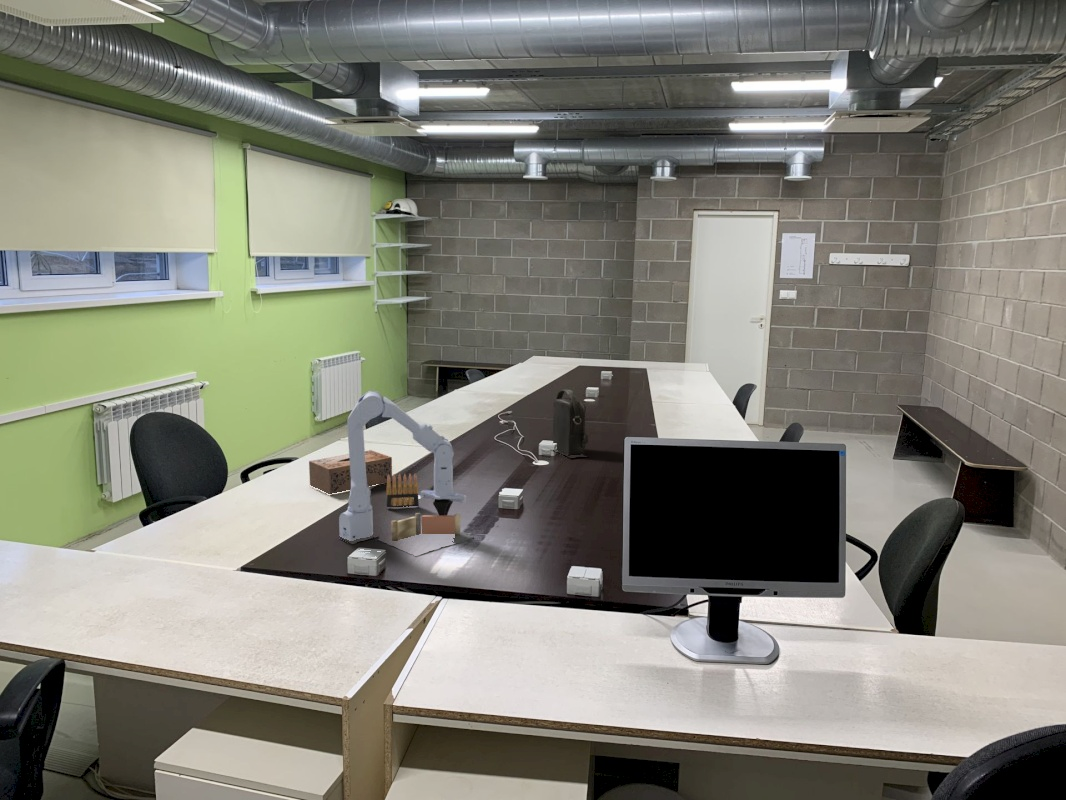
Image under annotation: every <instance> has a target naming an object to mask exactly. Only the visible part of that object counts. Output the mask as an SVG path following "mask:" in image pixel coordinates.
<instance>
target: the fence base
mask: <svg viewBox="0 0 1066 800" xmlns="http://www.w3.org/2000/svg"><path fill="white" fill-rule="evenodd" d="M390 524H391V535H392V541H398V540H400V539H404V538H408V537H411V536H415V535H419V534H421V526H422V517H421V513H420V512H415V513H414V516H411V517H406V518H402V519H400V520H395V519H393V520H391V521H390Z"/></svg>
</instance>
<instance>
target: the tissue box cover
mask: <svg viewBox="0 0 1066 800" xmlns="http://www.w3.org/2000/svg"><path fill="white" fill-rule="evenodd" d="M308 464H309V465H308V467H309V468H308V470H309V486H310V485H311V486H313V487H315V488H318V489H320V490H322V491H324V492H326V493H328V494H332V493H337V492H342V491H346V490H350V489H351V474H350V458H349V453H347V454H341V455H336V456H330V457H324V458H320V459H313V460H309V461H308ZM365 464H366V477H367V485H368V486H372V485H376V484H381V483H386V482H387V477H388V474H389V475H390V479H391V481H392V480H393V459H392V457H391V456H389V455H387V454H383V453H380V452H377V451H374V450H371V449H369V450H365Z"/></svg>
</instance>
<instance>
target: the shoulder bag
mask: <svg viewBox="0 0 1066 800" xmlns="http://www.w3.org/2000/svg"><path fill="white" fill-rule="evenodd" d="M565 393H566V394H567V396H568V397H569V398H567V397H565V398H563V397H564V395H565ZM586 408H587V407H586V405H585V403H582V402H580V401H579V400H578V398H577V396H576V394H575V393H574V391H573V390H571V389H566V388H564V389H561V390H559V392H558V393H557V394H556V399H555V400H554V401H553V408H552V410H553V411H552V413H553V414H552V415H553V417H552V418H553V419H552V444H553V443H557V450H558V451H559V452H561V453H563V454H565V455H568V456H570V455H581V454H584V453H585V448H586V444H588V442H589V437H588V436H589V435H588V431H587V428H586V411H587V409H586ZM584 455H585V454H584Z"/></svg>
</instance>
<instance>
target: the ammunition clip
mask: <svg viewBox="0 0 1066 800" xmlns="http://www.w3.org/2000/svg"><path fill="white" fill-rule="evenodd" d="M402 478H403V479H402ZM402 480H403V481H402ZM397 505H398V506H397ZM386 506H387V507H403V506H404V507H406V506H408V507H409V506H420V504H419V484H418V476H417V473H416V472H415V473H414V474H413V477H412V474H411V472H410V473H409V474H408V480H407V475H406V473H404V475H403V477H402V475H401V473H399V474H398V477H397V478H396V474H395V473H393V474H392V483H391V479H390V475H389V474H388V477H387V484H386Z"/></svg>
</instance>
